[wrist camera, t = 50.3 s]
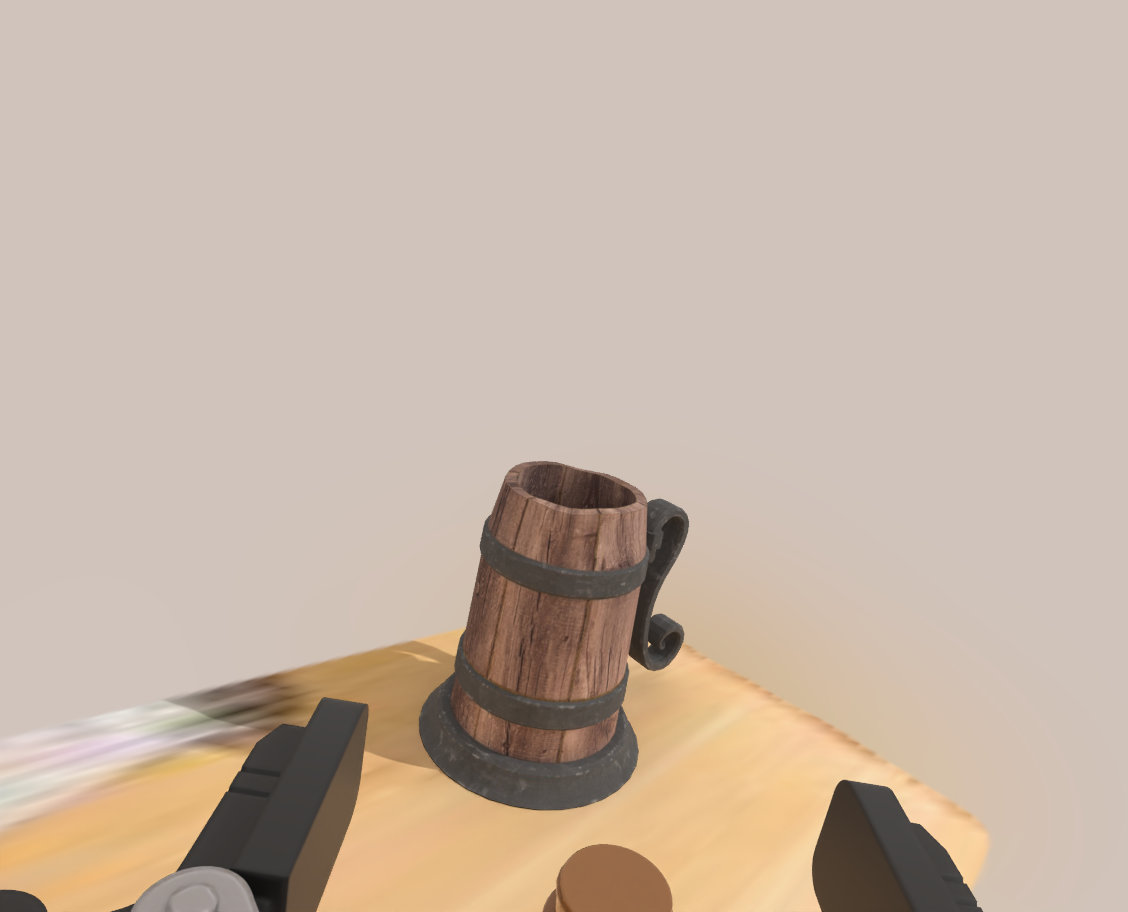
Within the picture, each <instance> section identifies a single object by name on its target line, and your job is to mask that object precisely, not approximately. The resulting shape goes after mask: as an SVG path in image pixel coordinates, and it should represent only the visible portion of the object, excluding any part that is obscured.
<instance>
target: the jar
mask: <svg viewBox="0 0 1128 912" xmlns="http://www.w3.org/2000/svg"><path fill="white" fill-rule="evenodd" d="M672 906H673V902H672V895H671V891H670V888H669V885H668V883H667V881H666V879H665V878H664V876H663V875H662V873H661V872H660V871H659V870H658V868H657V867H656V866H655V865H654V864H653V863H651V862H650V861H649V860H648V859H646V858H645V857H643V856H642V855H640V854H638V853H636V852H634V851H632V850H630V849H627V848H624V847H621V846H616V845H608V844H600V845H592V846H588V847H585V848H583V849H581V850H579V851H577V852H576V853H574V854H573V855H572V856H571V857H570V858H569V859H568V860H567V862H566V863H565V864H564V865H563V867H561V869H560V872H559V875H558V877H557V881H556V889H555V890H554V891H553V892H552V893H551V894H550V896H549V897H548V899H547V901H546V903H545V905H544V908H543V912H673V911H672Z"/></svg>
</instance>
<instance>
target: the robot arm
mask: <svg viewBox="0 0 1128 912" xmlns="http://www.w3.org/2000/svg"><path fill="white" fill-rule="evenodd" d="M367 721H368V704H363V703H357V702H350V701H344V700H338V699H332V698H326V697H324V698H322V699H321V701H320V703H319V704H318V706H317V708H316V710H315V712H314V714H313V715H312V717H311V719H310V721H309V723H308V725H307V726H306V727H300V726H294V725H287V724H282V725H280V726H279V727H278V728H276V729H275V730H273V731H272V732H271V733H269V734H268V735H267V736H265V737H264V738H262V739H261V740H260V741H258V742H257V743H256V745H255V746H254V748H253V750H252V751H251V753H250V754H249V756H248V758H247V759H246V761H245V762H244V764H243V766H242V769H241V771H239V772H238V774H237V775H236V777H235V779H234V780H233V782H232V783H231V785H230V787H229V791H228V792H226V793H225V795H224V796H223V798H222V799H221V801H220V803H219V804H218V806H217V807H216V809H215V811H214V812H213V814H212V816H211V817H210V819H209V820H208V822H207V824H206V825H205V827H204V828H203V830H202V832H201V833H200V835H199V836H198V838H197V840H196V841H195V843H194V844H193V846H192V848H191V849H190V851H189V852H188V854H187V856H186V857H185V859H184V861H183V862H182V864H181V865H180V867H179V868H178V870H177V871H176V872H175V873H173V874H170V875H168V876H166V877H165V878H163V879H161V880H159V881H158V882H156V883H155V884H153V885H152V886H151V887H150V888H149V889H147V890H146V891H145V892H144V893H143V894H142V895H141V897H140V898H139V899H138V900H137V901H136V903H135V904H132V905H130V906H127V907H125V908H122V909H118V910H115V911H112V912H316V910H317V908H318V905H319V903H320V900H321V897H322V895H323V892H324V889H325V887H326V884H327V882H328V879H329V876H330V874H331V871H332V868H333V866H334V863H335V861H336V858H337V855H338V853H339V850H340V847H341V845H342V842H343V840H344V837H345V834H346V832H347V829H348V826H349V824H350V821H351V818H352V815H353V811H354V808H355V804H356V800H357V795H358V790H359V785H360V778H361V770H362V762H363V754H364V745H365V737H366V729H367ZM812 877H813V885H814V890H815V894H816V897H817V899H818V902H819V905H820V908H821V911H822V912H983V911H982V909H981V908H980V907H977V901H976V899H975V897H974V896H973V894H972V892H971V891H970V889H969V887H968V886H967V884H964V883H963V877H962V876H961V874H960V872H959V871H958V869H957V867H956V866H955V864H954V862H953V861H952V859H951V857H950V856H949V854H948V852H947V850H946V849H945V848H944V847H943V846H942V845H940V844H939V843H938V842H937V841H936V840H935V839H934V838H933V837H932V836H931V835H930V834H929V833H928V832H927V831H926V830H925V829H924V828H923V827H922V826H921V825H920V824H916V823H910V821H909V819H908V817H907V816H906V814H905V812H904V810H903V809H902V807H901V805H900V803H899V801H898V800H897V798H896V796H895V794H894V793H893V791H892V790H891V789H890V788H888V787H885V786H879V785H873V784H867V783H860V782H854V781H848V780H842V781H840V782H839V783H838V785H837V786H836V789H835V791H834V794H833V797H832V800H831V803H830V806H829V809H828V812H827V815H826V818H825V821H824V824H823V827H822V830H821V833H820V836H819V839H818V842H817V845H816V848H815V851H814V856H813V863H812ZM0 912H47V910H46V907H45V905H44V904H43V903H42V902H41V901H40V900H39V899H38V898H36V897H35V896H33V895H31V894H28V893H26V892H22V891H17V890H0Z"/></svg>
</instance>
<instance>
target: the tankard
mask: <svg viewBox="0 0 1128 912" xmlns="http://www.w3.org/2000/svg"><path fill="white" fill-rule="evenodd" d="M688 527H689V521H688V516H687V514H686V513H685V512H684V510H683V509H681V508H679V507H677V506H675V505H673V504H672V503H670V502H668V501H666V500H663V499H656V500H651V501H649V502H648V503H647V501H646V498H645V496H644V494H643V493H642V492H641V491H640V490H638V489H637V488H636V487H634V486H632V485H630V484H629V483H627V482H624V481H623V480H620V479H618V478H616V477H613V476H610V475H608V474H604V473H598V472H593V471H588V470H582V469H578V468H575V467H571V466H568V465H564V464H561V463H557V462H547V461H538V462H526V463H522V464H519V465H516V466H515V467H513V468H512V469H511V470H510V471H509V472H508V473H507V475H506V476H505V479H504V482H503V485H502V487H501V490H500V493H499V495H498V498H497V501H496V503H495V506H494V509H493V511H492V514H491V515H490V516H489V517H488V518H487V519H486V521H485V524H484V528H483V533H482V537H481V542H480V550H481V559H480V564H479V568H478V573H477V578H476V583H475V588H474V592H473V597H472V602H471V607H470V612H469V617H468V622H467V626H466V630H465V631H464V633H463V634H462V636H461V637H460V641H459V645H458V650H457V655H456V660H455V665H454V666H455V672H454V673H453V674H452V675H451V676H450V677H449V678H448V679H446V681H445V682H444V683H442V684H441V685H440V686H439V687H438V688H436V689H435V690H434V691H433V692H432V693H431V694H430V696H429V697H428V699H427V700H426V702H425V703H424V705H423V707H422V711H421V714H420V717H419V730H420V735H421V738H422V741H423V744H424V747H425V749H426V750H427V752H428V754H429V755H430V757H431V758H432V760H433V761H434V763H435V764H436V765H437V766H438V767H439V768H441V769H442V770H443V771H444V772H445V773H446V774H447V775H448V776H449V777H450V778H452V779H453V780H455V781H456V782H458V783H459V784H461V785H462V786H464V787H465V788H466V789H468V790H471V791H473V792H475V793H477V794H479V795H481V796H484V797H486V798H488V799H491V800H494V801H498V802H501V803H504V804H508V805H511V806H516V807H523V808H530V809H537V810H562V809H568V808H574V807H581V806H585V805H588V804H591V803H594V802H597V801H599V800H602V799H604V798H606V797H607V796H609V795H611V794H612V793H614V792H616V791H617V790H619V789H620V788H621V787H622V786H623V785H624V784H625V783H626V782H627V781H628V779H629V778H630V777H631V775H632V773H633V771H634V769H635V767H636V764H637V758H638V745H637V738H636V736H635V733H634V731H633V729H632V726H631V724H630V723H629V721H628V720H627V717H626V715H625V712H624V710H623V708H622V706H621V704H622V703H623V701H624V696H625V692H626V686H627V681H628V675H629V670H628V663H627V658H628V654H629V655H630V656H631V657H632V658H633V659H634V660H636V661H637V662H638V663H640V664H641V665H642V666H644V667H645V668H646V669H648V670H652V671H656V670H661V669H663V668H665V667H666V666H668V665H669V664H670V662H671V661H672V660H673V659H674V658H675V656H676V655H677V653H678V652H679V650H680V648H681V645H682V643H683V640H684V631H683V628H682V626H681V625H679V624H678V623H676V622H675V621H673V620H672V619H670V618H669V617H667V616H666V615H663V614H656V615H654V616H652V617H651V615H652V611H653V607H654V603H655V601H656V598H657V595H658V592H659V590H660V588H661V586H662V584H663V582H664V580H665V578H666V576H667V574H668V573H669V571H670V569H671V568H672V566H673V564H674V563H675V561H676V559H677V557H678V556H679V554H680V551H681V549H682V547H683V545H684V543H685V539H686V536H687V533H688ZM648 642H649V643H651V645H650V646H649V647H648Z"/></svg>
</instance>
